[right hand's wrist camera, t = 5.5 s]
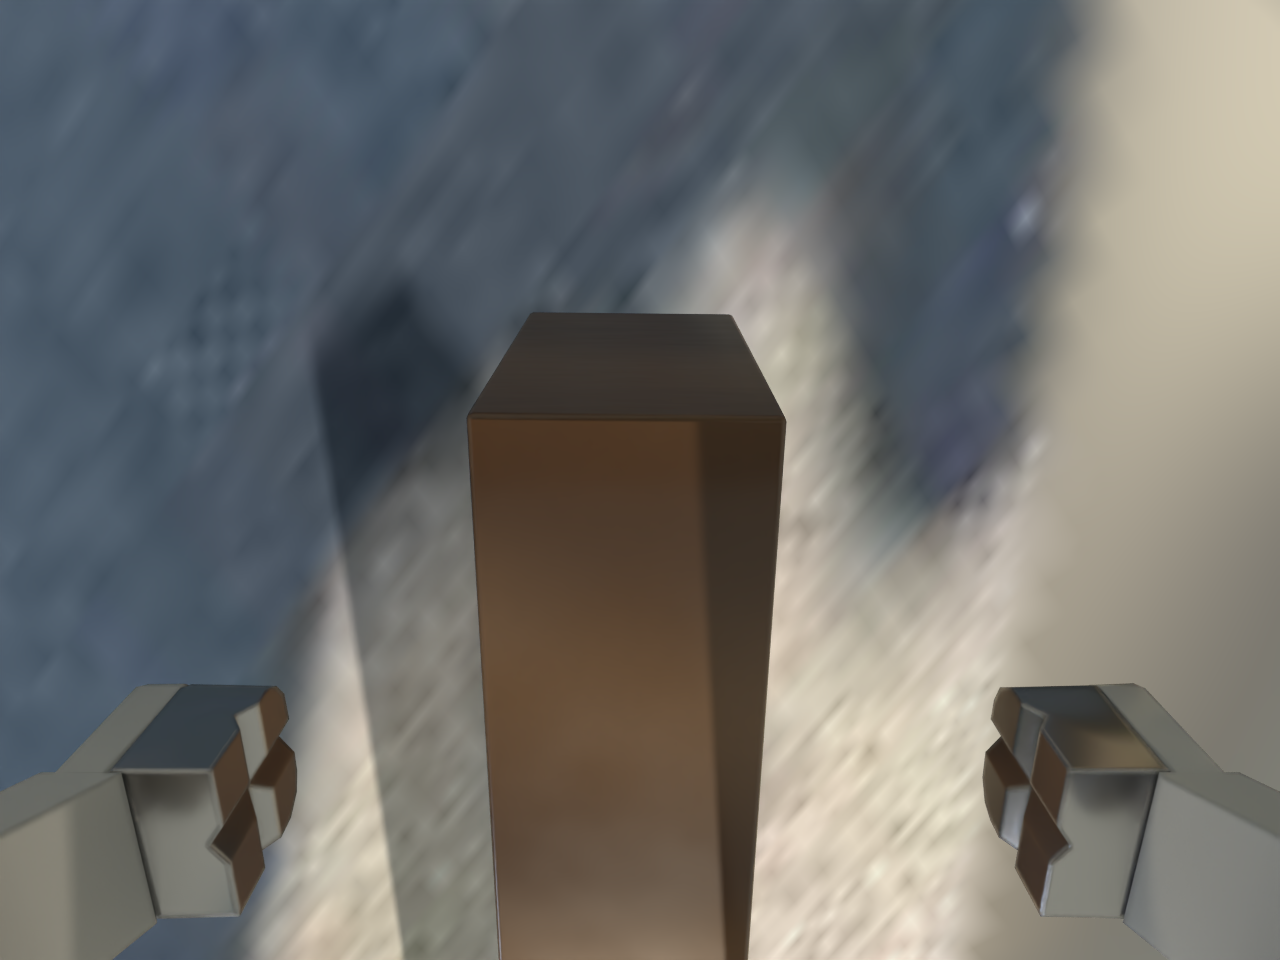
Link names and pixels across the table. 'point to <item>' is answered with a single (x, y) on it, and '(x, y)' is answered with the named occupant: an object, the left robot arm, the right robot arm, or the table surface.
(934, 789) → the table surface
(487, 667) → the bar
